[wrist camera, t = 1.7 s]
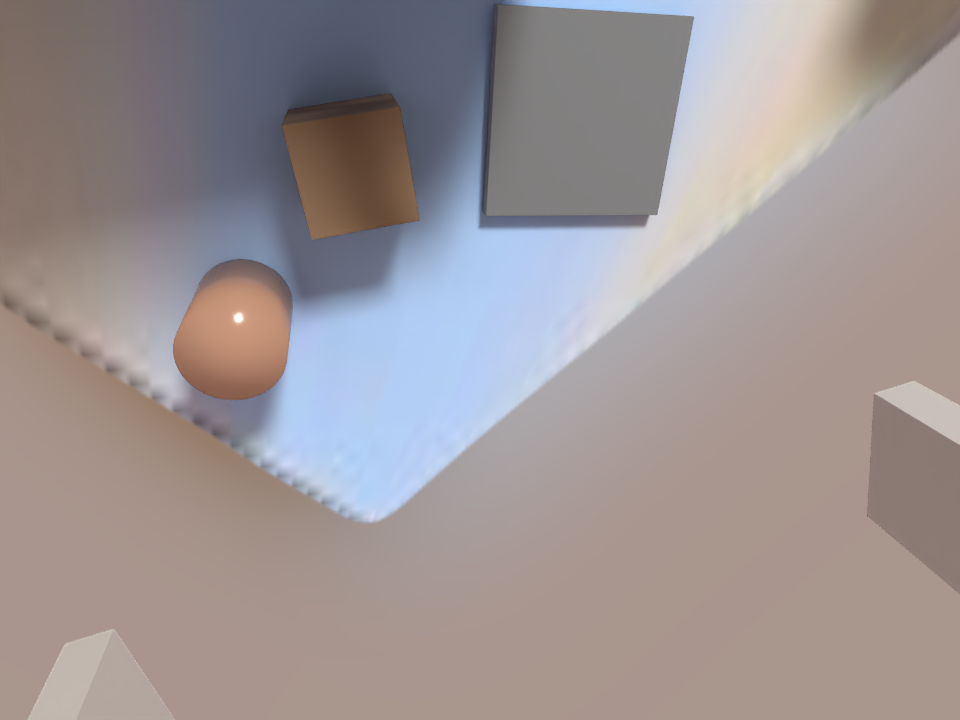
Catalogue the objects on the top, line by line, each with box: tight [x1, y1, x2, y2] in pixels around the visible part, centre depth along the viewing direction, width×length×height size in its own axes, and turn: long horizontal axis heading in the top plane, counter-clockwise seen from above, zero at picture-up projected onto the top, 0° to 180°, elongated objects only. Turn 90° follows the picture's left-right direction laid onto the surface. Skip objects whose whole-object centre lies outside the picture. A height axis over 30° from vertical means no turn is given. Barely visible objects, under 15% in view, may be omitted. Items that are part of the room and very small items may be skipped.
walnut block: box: [282, 93, 419, 240], centre depth 31 cm, size 5×5×5 cm
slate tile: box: [483, 4, 694, 216], centre depth 34 cm, size 10×10×1 cm
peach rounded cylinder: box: [173, 259, 293, 400], centre depth 33 cm, size 5×5×6 cm
